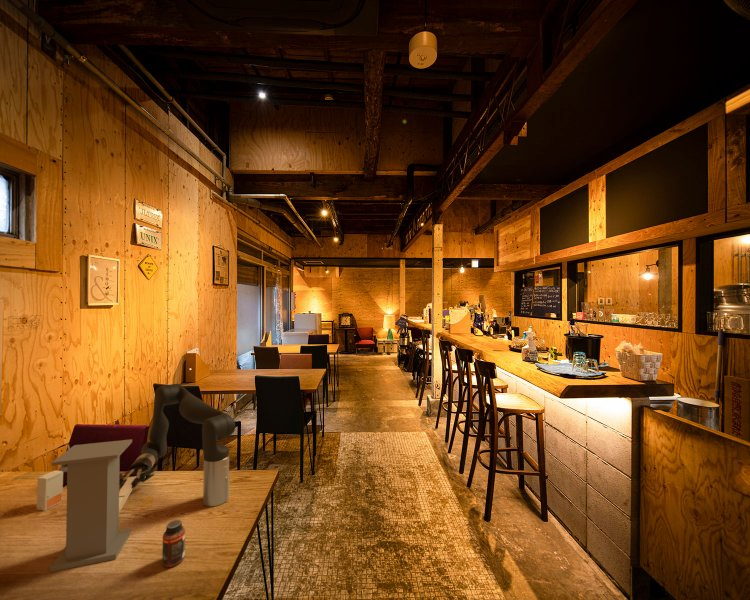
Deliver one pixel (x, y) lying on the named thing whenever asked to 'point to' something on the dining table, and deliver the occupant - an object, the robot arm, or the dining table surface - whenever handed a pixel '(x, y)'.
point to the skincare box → (49, 490)
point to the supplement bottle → (173, 544)
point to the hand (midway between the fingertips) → (127, 486)
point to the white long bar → (125, 491)
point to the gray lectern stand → (92, 504)
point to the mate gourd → (64, 472)
